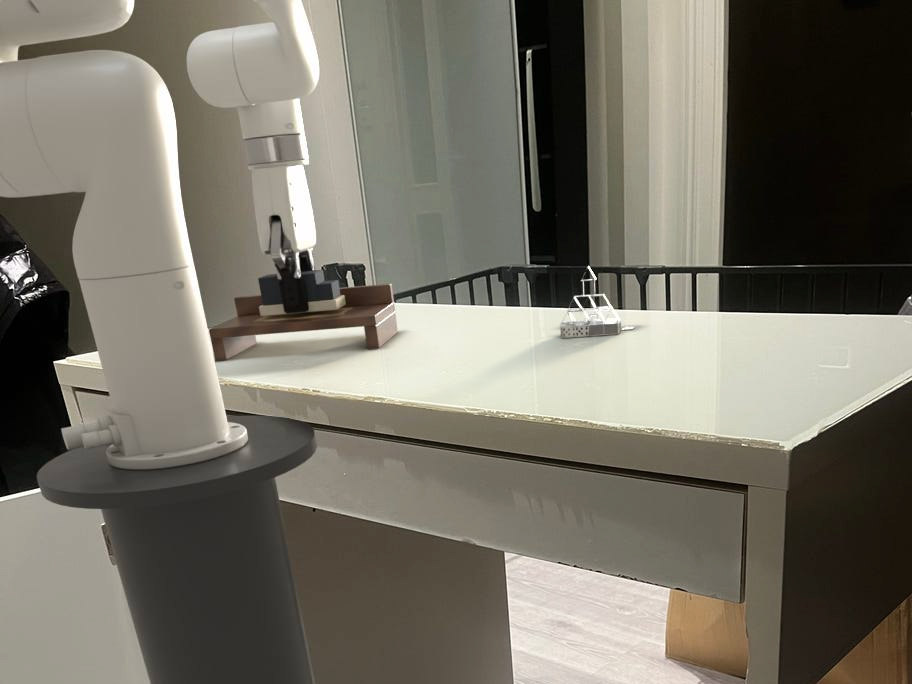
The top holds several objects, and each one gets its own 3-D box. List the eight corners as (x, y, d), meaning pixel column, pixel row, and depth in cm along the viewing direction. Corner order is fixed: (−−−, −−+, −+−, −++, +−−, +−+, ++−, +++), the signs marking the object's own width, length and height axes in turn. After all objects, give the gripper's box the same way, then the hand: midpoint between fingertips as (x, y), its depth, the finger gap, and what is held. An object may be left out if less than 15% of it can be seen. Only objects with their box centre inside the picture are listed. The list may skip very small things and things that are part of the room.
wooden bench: (215, 360, 124) (204, 309, 121) (246, 344, 135) (236, 296, 132) (379, 348, 121) (372, 295, 118) (397, 332, 132) (391, 283, 129)
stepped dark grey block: (260, 316, 125) (253, 278, 123) (271, 310, 129) (264, 274, 127) (337, 309, 123) (331, 271, 121) (346, 304, 127) (340, 267, 125)
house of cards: (636, 321, 121) (635, 256, 117) (634, 333, 113) (632, 264, 110) (565, 326, 123) (562, 262, 119) (558, 338, 115) (555, 270, 112)
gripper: (269, 157, 126) (294, 302, 134) (223, 158, 111) (254, 321, 119) (324, 151, 125) (346, 297, 133) (285, 151, 110) (312, 316, 118)
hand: (302, 307), depth 126 cm, fingers closed on stepped dark grey block, 4 cm apart
